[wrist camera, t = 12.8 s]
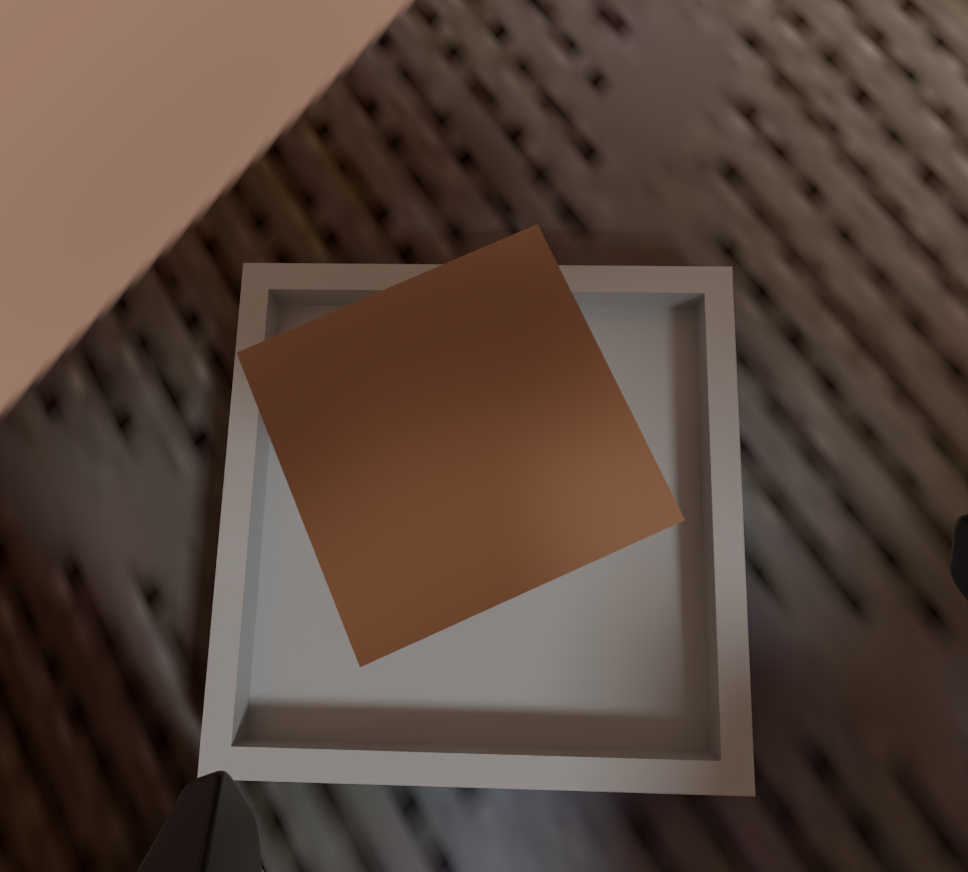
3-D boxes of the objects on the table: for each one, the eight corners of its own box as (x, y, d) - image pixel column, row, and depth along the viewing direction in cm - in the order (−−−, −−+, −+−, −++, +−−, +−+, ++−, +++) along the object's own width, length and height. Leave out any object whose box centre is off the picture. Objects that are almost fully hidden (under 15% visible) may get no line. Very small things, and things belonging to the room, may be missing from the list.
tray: (733, 777, 21) (755, 796, 19) (224, 762, 22) (197, 778, 20) (714, 293, 24) (732, 266, 22) (264, 289, 25) (243, 262, 23)
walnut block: (599, 557, 22) (685, 519, 11) (434, 632, 22) (359, 667, 11) (524, 399, 23) (537, 224, 12) (366, 469, 23) (236, 352, 12)
